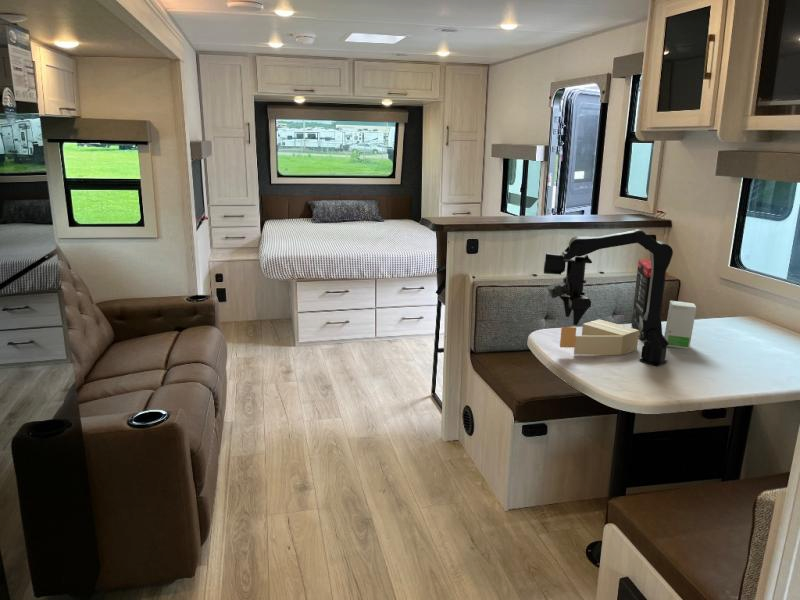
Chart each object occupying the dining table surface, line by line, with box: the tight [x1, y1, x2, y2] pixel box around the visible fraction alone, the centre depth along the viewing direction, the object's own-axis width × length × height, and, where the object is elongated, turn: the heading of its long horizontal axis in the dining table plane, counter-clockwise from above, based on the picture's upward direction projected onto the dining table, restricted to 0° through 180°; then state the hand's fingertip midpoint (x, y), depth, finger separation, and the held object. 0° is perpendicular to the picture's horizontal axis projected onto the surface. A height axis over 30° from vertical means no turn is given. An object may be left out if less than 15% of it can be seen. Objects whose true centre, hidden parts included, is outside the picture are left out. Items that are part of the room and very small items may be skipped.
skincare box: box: [663, 300, 697, 350], centre depth 210 cm, size 8×7×16 cm
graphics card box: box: [631, 259, 667, 341], centre depth 221 cm, size 17×7×27 cm, turn 171°
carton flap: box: [559, 326, 623, 356], centre depth 199 cm, size 21×1×10 cm, turn 93°
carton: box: [581, 319, 639, 356], centre depth 209 cm, size 16×10×7 cm, turn 38°
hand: (571, 320), depth 198 cm, fingers open, 9 cm apart
